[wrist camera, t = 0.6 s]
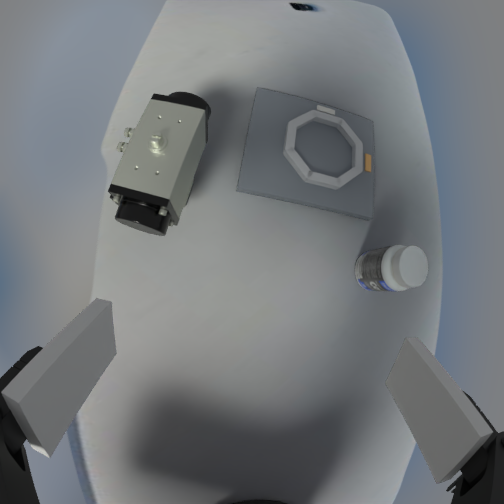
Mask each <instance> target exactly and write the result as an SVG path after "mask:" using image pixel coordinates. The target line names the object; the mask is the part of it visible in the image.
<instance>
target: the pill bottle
mask: <svg viewBox="0 0 504 504" xmlns="http://www.w3.org/2000/svg"><path fill="white" fill-rule="evenodd" d="M428 268H429V267H428V260H427V257H426V255H425V253H424V252H423V250H422V249H421V248H419V247H417V246H414V245H411V246H403V245H393V246H389V247H385V248H380V249H376V250H371V251H367V252H365V253H363V254H362V255H361V256H360V257H359V258H358V260H357V262H356V265H355V276H356V279H357V282H358V283H359V285H360V286H361V287H362V288H364V289H366V290H369V291H404V290H407V289H408V288H414V287H418V286H420V285H422V284H423V283H424V281H425V280H426V277H427V275H428Z"/></svg>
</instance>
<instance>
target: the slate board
mask: <svg viewBox="0 0 504 504" xmlns="http://www.w3.org/2000/svg"><path fill="white" fill-rule="evenodd" d="M237 192H243V193H248V194H253V195H258V196H263V197H268V198H273V199H278V200H283V201H288V202H292V203H297V204H302V205H306V206H311V207H315V208H319V209H324V210H328V211H332V212H336V213H340V214H345V215H349V216H353V217H357V218H361V219H364V220H370V219H373V210H374V130H373V121H371V120H369V119H366V118H363V117H361V116H358V115H355V114H352V113H349V112H346V111H344V110H341V109H337V108H334V107H331V106H328V105H325V104H321V103H318V102H315V101H311V100H308V99H304V98H300V97H296V96H293V95H289V94H285V93H280V92H276V91H272V90H267V89H262V88H258V87H257V91H256V95H255V100H254V105H253V109H252V114H251V119H250V124H249V129H248V134H247V139H246V144H245V149H244V154H243V159H242V164H241V170H240V175H239V180H238V185H237Z"/></svg>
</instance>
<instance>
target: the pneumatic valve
mask: <svg viewBox="0 0 504 504" xmlns="http://www.w3.org/2000/svg"><path fill="white" fill-rule="evenodd" d="M210 114H211V109H210V107H209V105H208V104H207V103H206V102H205V101H204V100H203V99H202V98H200V97H198V96H196V95H194V94H191V93H187V92H175V93H172V94H170V95H169V96H165V95H159V94H154V95H153V96H152V98H151V100H150V102H149V104H148V105H147V107H146V109H145V111H144V113H143V115H142V117H141V119H140V121H139V123H138V125H137V127H136V129H132V128H126V129H125V132H124V136H125V137H130V138H131V139H130V141H129V143H124V142H119V144H118V146H117V151H118V152H123V153H124V154H123V156H122V159H121V161H120V163H119V166H118V168H117V170H116V173H115V175H114V178H113V180H112V183H111V185H110V188H109V190H108V192H109V193H110V194H111V196H110V198H111V199H112V200H113V201H114V202H115V203H116V204H117V205H119V207H118V210H117V213H116V215H115V220H117V221H118V222H120V223H122V224H124V225H127V226H129V227H132V228H134V229H137V230H140V231H143V232H147V233H150V234H154V235H159V236H165V235H166V232H167V229H168V226H173V225H176V226H177V224H178V221H179V218H180V215H181V212H182V209H183V207H185V205H186V202H187V199H188V196H189V193H190V191H191V188H192V185H193V182H194V179H193V178H194V175H195V172H196V169H197V167H198V164H199V161H200V159H201V156H202V153H203V151H204V148H205V146H206V143H207V141H208V119H209V117H210Z"/></svg>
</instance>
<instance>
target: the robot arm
mask: <svg viewBox="0 0 504 504" xmlns="http://www.w3.org/2000/svg"><path fill="white" fill-rule="evenodd" d="M115 355H116V345H115V336H114V326H113V315H112V302H111V301H106V300H102V299H98V298H96V299H95V300H94V301H93V302H92V303H91V304H90V305H89V306H87V307H86V308H85V309H84V310H83V311H82V312H81V313H80V314H79V315H78V316H77V317H75V319H73V320H72V321H71V322H70V323H69V324H68V325H67V326H66V327H65V328H64V329H63V330H62V331H61V332H60V333H58V335H57V336H55V337H54V338H53V339H52V340H51V341H50V342H49V343H48V344H47V345H46V346H45V347H44V348H42V347H39V346H38V347H36V348H34V349H31V350H29V351H27V352H26V353H25V354H24V355H23V356H22V357H21V358H20V360H19V361H17V362H16V363H15V364H14V365H13V367H11V368H10V369H9V370H8V371H7V372H6V373H5V374H4V375H3V376H2V377H1V378H0V504H40V503H39V500H38V496H37V493H36V490H35V487H34V483H33V480H32V476H31V472H30V468H29V464H28V459H27V455H26V450H25V448H24V445H23V443H24V442H25V440H26V439H27V440H28V442H29V443H30V445H31V446H32V448H33V449H35V450H37V451H38V452H40V453H42V454H43V455H45V456H47V457H49V458H50V457H51V456H52V454H53V452H54V451H55V449H56V447H57V446H58V444H59V442H60V440H61V439H62V437H63V435H64V434H65V432H66V430H67V429H68V427H69V426H70V424H71V422H72V421H73V419H74V417H75V416H76V414H77V413H78V411H79V409H80V408H81V406H82V405H83V403H84V402H85V400H86V398H87V397H88V395H89V394H90V392H91V391H92V389H93V388H94V386H95V385H96V383H97V382H98V380H99V379H100V377H101V376H102V374H103V373H104V371H105V370H106V368H107V367H108V365H109V364H110V362H111V361H112V359H113V358H114V356H115ZM385 384H386V386H387V387H388V389H389V391H390V393H391V395H392V396H393V398H394V400H395V402H396V404H397V406H398V408H399V409H400V411H401V413H402V415H403V417H404V419H405V421H406V423H407V425H408V427H409V428H410V430H411V432H412V434H413V436H414V438H415V440H416V442H417V444H418V446H419V448H420V450H421V452H422V454H423V456H424V458H425V460H426V462H427V464H428V466H429V469H430V470H431V473H432V475H433V477H434V479H435V481H436V483H437V484H438V483H441V482H444V481H446V480H449V479H451V478H452V477H453V476H454V475H455V474H456V473H457V472H458V471H459V470H461V472H462V475H461V476H460V477H459V478H457V480H456V481H454V482H453V483H452V484H451V485H450V486H449V487H448V489H447V490H446V491H449V490H451V489H452V488H453V487H454V486H456V488H455V489H454V490H453V491H452V493H454V495H453V499H452V502H451V504H504V432H501V433H499V434H498V432H497V431H496V430H495V429H494V427H493V426H492V425H491V423H490V422H489V420H488V419H487V418H486V416H485V415H484V414H483V412H480V408H479V407H478V406H476V403H475V402H474V401H473V399H472V398H471V397H470V396H469V395H468V394H466V393H465V392H464V391H462V390H461V389H460V387H459V386H458V385H457V384H456V382H455V381H454V380H453V379H452V377H450V375H449V374H448V373H447V371H446V370H445V369H444V368H443V366H442V365H441V364H440V363H439V362H438V361H437V360H436V358H435V357H434V356H433V355H432V353H431V352H430V351H429V350H428V349H427V348H426V346H425V345H424V344H423V343H422V342H421V341H420V340H419V338H405V340H404V343H403V345H402V347H401V350H400V352H399V354H398V357H397V359H396V361H395V363H394V365H393V368H392V370H391V372H390V374H389V376H388V378H387V380H386V382H385ZM233 504H285V503H282V502H277V501H268V500H254V501H244V502H238V503H233Z"/></svg>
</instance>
